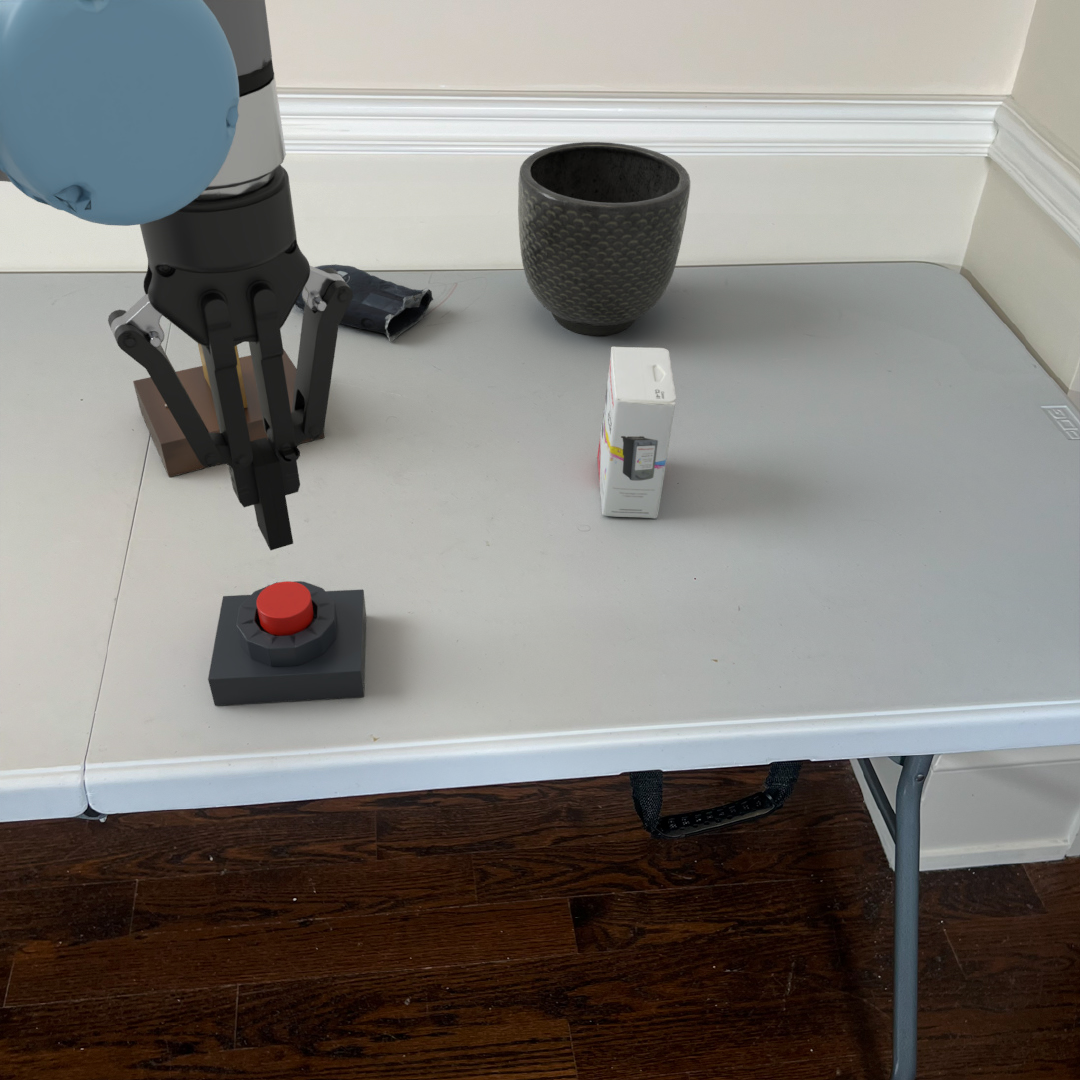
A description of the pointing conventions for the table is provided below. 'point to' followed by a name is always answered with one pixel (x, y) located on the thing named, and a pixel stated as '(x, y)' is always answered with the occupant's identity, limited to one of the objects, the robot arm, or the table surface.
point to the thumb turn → (237, 371)
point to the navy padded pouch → (379, 303)
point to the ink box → (635, 431)
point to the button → (285, 608)
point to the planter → (600, 231)
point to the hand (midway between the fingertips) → (275, 534)
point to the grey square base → (290, 652)
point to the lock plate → (200, 413)
